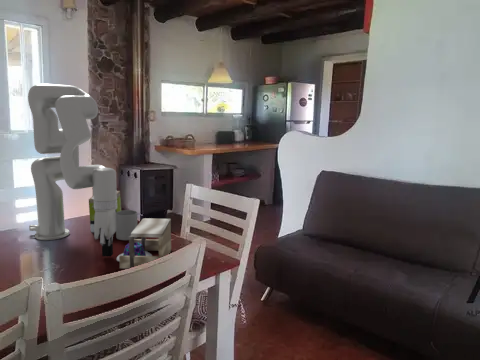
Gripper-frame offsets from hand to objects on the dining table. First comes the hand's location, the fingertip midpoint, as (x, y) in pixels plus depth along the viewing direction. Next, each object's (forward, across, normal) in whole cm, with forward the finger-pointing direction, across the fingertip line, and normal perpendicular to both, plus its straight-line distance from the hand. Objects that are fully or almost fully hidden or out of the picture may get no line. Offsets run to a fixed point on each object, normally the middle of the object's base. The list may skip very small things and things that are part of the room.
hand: (107, 255), depth 134 cm
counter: (+1, 0, +14) cm, 14 cm away
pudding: (+1, 0, +9) cm, 9 cm away
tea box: (+1, -34, -11) cm, 36 cm away
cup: (+1, -22, +1) cm, 22 cm away
